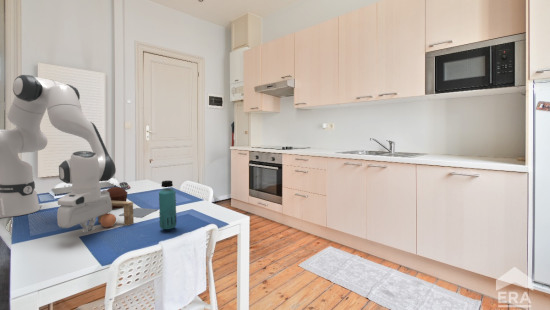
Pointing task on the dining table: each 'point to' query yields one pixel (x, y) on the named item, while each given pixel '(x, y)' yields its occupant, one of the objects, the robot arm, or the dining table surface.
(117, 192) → the muffin
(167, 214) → the beverage bottle
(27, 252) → the dining table surface
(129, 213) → the bridge
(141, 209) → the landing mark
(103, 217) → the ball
